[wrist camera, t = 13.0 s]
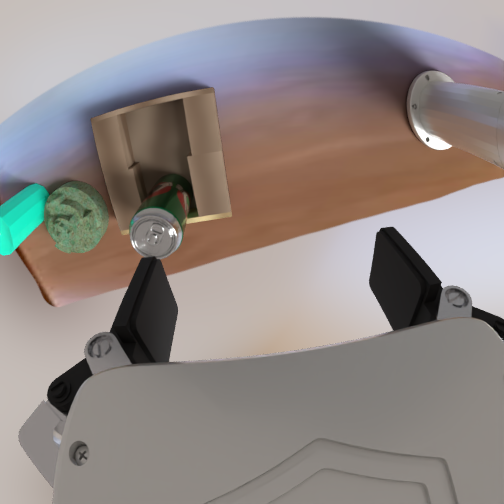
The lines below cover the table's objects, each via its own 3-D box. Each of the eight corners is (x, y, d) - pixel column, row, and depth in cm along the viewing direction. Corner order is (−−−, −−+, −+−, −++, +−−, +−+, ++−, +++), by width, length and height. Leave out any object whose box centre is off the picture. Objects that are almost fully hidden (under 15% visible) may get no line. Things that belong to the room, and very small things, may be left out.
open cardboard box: (214, 88, 28) (213, 87, 24) (230, 204, 36) (231, 216, 32) (104, 115, 27) (90, 118, 24) (130, 221, 35) (122, 235, 32)
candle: (50, 184, 30) (2, 222, 20) (53, 221, 33) (12, 266, 23) (22, 182, 29) (-27, 217, 19) (26, 217, 32) (-17, 259, 22)
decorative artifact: (89, 168, 31) (42, 198, 31) (64, 186, 25) (17, 218, 25) (120, 230, 36) (73, 252, 37) (104, 257, 30) (54, 278, 31)
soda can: (148, 201, 33) (119, 250, 23) (163, 166, 31) (135, 202, 21) (183, 216, 35) (169, 271, 25) (200, 182, 33) (191, 226, 22)
